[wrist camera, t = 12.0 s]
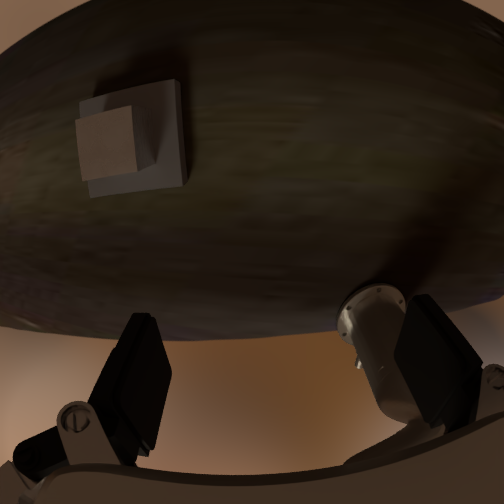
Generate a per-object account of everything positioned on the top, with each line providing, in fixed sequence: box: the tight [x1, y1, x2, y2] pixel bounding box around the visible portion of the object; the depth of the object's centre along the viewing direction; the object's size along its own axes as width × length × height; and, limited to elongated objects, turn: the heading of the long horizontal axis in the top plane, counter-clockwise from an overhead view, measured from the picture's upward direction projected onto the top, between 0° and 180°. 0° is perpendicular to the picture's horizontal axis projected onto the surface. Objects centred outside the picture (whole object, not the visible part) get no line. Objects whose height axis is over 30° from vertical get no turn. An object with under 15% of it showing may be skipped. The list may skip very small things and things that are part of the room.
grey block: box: [79, 79, 188, 198], centre depth 29 cm, size 13×13×7 cm
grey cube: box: [75, 105, 156, 181], centre depth 27 cm, size 7×7×6 cm
